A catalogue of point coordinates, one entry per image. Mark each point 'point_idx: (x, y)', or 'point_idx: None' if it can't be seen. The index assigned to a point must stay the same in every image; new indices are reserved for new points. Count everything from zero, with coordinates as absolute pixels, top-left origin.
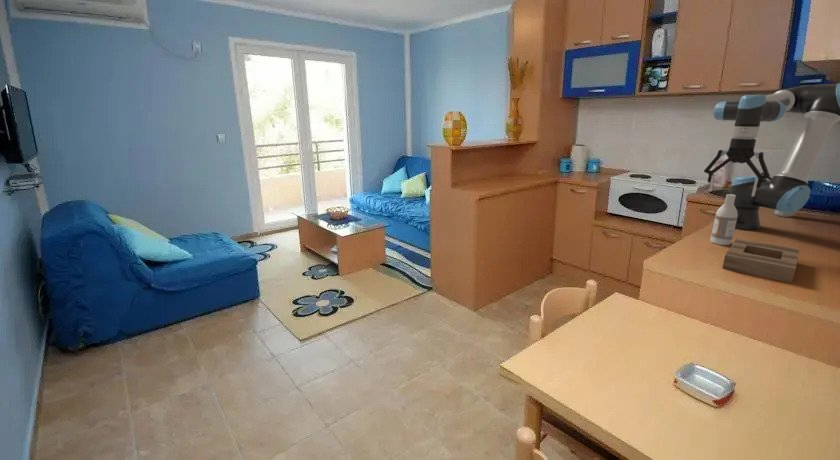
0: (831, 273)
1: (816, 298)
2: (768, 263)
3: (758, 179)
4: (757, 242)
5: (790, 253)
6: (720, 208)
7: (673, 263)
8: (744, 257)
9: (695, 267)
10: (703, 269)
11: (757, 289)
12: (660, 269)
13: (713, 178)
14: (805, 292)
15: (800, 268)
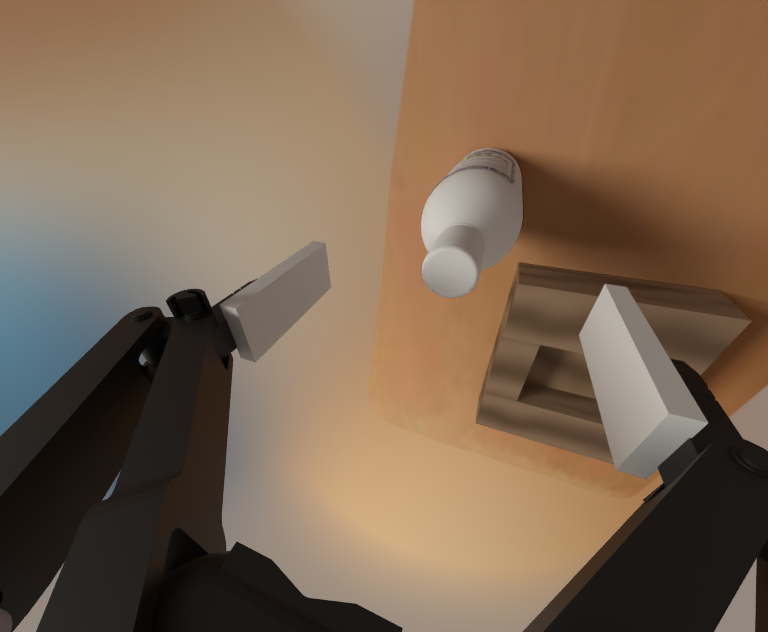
0: None
1: (625, 475)
2: (560, 447)
3: (662, 466)
4: (589, 301)
5: None
6: (428, 250)
7: (399, 397)
8: (513, 429)
9: (434, 404)
10: (447, 409)
11: (527, 459)
12: (390, 423)
13: (273, 342)
14: None
15: None
